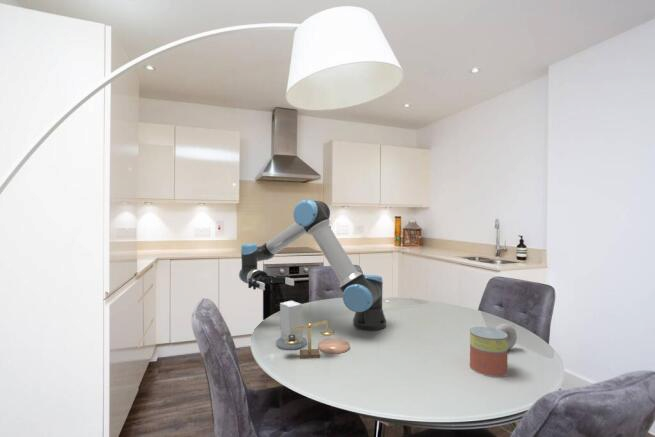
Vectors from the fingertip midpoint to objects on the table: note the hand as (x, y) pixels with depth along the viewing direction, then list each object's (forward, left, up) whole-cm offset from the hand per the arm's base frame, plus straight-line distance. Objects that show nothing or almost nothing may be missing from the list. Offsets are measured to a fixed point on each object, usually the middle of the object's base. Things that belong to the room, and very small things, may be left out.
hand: (279, 284), depth 138 cm
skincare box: (-5, +9, -21) cm, 23 cm away
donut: (-85, +22, -22) cm, 90 cm away
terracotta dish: (-21, +14, -22) cm, 33 cm away
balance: (-12, +20, -22) cm, 32 cm away
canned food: (-70, +36, -22) cm, 82 cm away
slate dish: (-5, +9, -22) cm, 24 cm away
